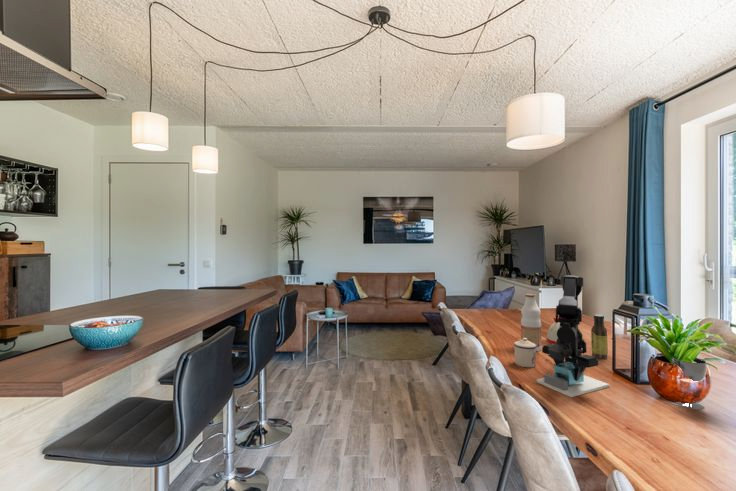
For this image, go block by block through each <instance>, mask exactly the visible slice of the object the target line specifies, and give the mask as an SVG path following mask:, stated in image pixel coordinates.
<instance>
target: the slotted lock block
mask: <svg viewBox="0 0 736 491" xmlns="http://www.w3.org/2000/svg"><path fill="white" fill-rule="evenodd" d="M573 364H574V363H571V362H565V363H560V364H555V363H554V364H553V376H555V377H558V378H562V377H566V381H568V385H572V384H576V383H580V382H584V375H585V374H584V371H585V370H584V371H583V373H582V375H581V377H580V378H579V380H578V381H576V380H575V367H574V365H573Z"/></svg>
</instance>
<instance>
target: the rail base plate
mask: <svg viewBox="0 0 736 491" xmlns="http://www.w3.org/2000/svg"><path fill="white" fill-rule="evenodd" d="M543 376H544V377H542V378H537V379H536V383H538V384H540V385H542V386H544V387H546V388H549V389H551V390H554V391H556V392H558V393H560V394H563V395H565V396H567V397H569V398H573V397H578V396H581V395H585V394H589V393H593V392H596V391H600V390H604V389H607V388H610V383H608V382H607V383H606V382H604V381H601V380H598V379H596V378H593V377H590V376H588V375H585V374H584V382H580V383H576V384H572V385H568V381H566V377H562V378H558V377H555V376H554V374H550V373H544V374H543Z"/></svg>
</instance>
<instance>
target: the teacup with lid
mask: <svg viewBox="0 0 736 491" xmlns="http://www.w3.org/2000/svg"><path fill="white" fill-rule="evenodd" d="M513 346H514V364H515V365H517V366H519V367H522V368H534V367H536V366H537V351H536V345H535V344H534V343H532V342H530V341H528V340H527V338H523V340H521V339H520V340H517V341H515V342H514V343H513Z"/></svg>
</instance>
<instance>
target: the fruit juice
mask: <svg viewBox="0 0 736 491" xmlns="http://www.w3.org/2000/svg"><path fill="white" fill-rule="evenodd" d="M536 298H537V294H534V293H526V294H525V302H524V304H523V306H522V307H521V310H520V313H521V318H520V340H523V338H527V340H528V341H530V342H532V343H534V344H535V345H536V352H540V351H542V320H541V315H542V313H541V312H542V310H541V309H540V307H539V305H538V303H537V300H536Z"/></svg>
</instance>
